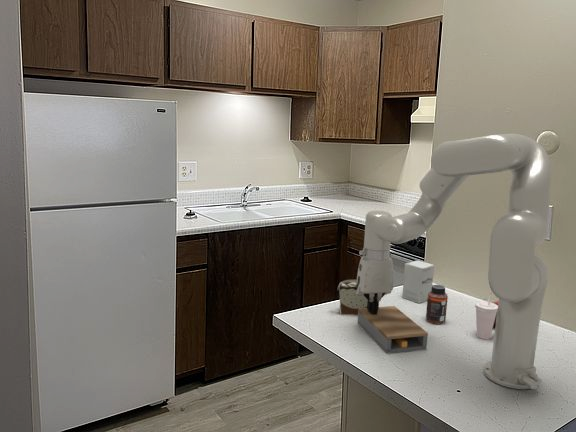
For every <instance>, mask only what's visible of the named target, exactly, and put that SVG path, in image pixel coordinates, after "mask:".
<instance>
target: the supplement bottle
mask: <svg viewBox="0 0 576 432" xmlns="http://www.w3.org/2000/svg"><path fill="white" fill-rule="evenodd" d="M431 290H432V291H430V292H429V293H428V298H427V300H426V313H425V320H426V321H427V322H428V323H430V324H433V325H434V324H435V325H441V324H444V323H446V318H447V310H448V309H447V308H448V299H449V297H448V294H447V293H446V287H445V286H444V285H442V284H432V289H431Z"/></svg>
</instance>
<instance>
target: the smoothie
mask: <svg viewBox="0 0 576 432" xmlns="http://www.w3.org/2000/svg"><path fill="white" fill-rule="evenodd" d="M492 293H493V292H492V290H489V291H488V301H485V300H482V301H476V302H475V305H474V308H475V310H476V311H475V319H476V321H475V322H476V323H475V324H476V337H478V338H479V339H484V340H489V339H491V335H492V332H493V328H494V326H495V325H494V321H495V317H496V313H497V310H498V305H496V304H494V303H492V302H491V301H492V299H491V298H492Z"/></svg>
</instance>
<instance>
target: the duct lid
mask: <svg viewBox="0 0 576 432" xmlns="http://www.w3.org/2000/svg"><path fill="white" fill-rule="evenodd" d="M358 311H359V312H360V313H361V314H362V315H363V316H364V317H365V318H366V319H367V320H368V321H369V322H370V323H371V324H372V325H373V326H374V327H375V328H376V329H377V330H378V331H379V332H380V333H381V334H382V335H383V336H385V337H386V338H387V339H396V338H407V337H418V336H427V337H428V335H429V332H428V331H426V330H425V329H424V328H422V327H421V326H420V325H419V324H417V323H416V322H415V321H414V320H412V318H410V317H409V316H407V314H405V313H404V312H402V311H401V310H400V309H399V308H398V307H396V306H395V305H390V306H388V305H387V306H379V309H378V311H377V314H376V315H375V314H374V315H372V314H371V313H370V312H369V311H368V310H367V308H359V309H358Z"/></svg>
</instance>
